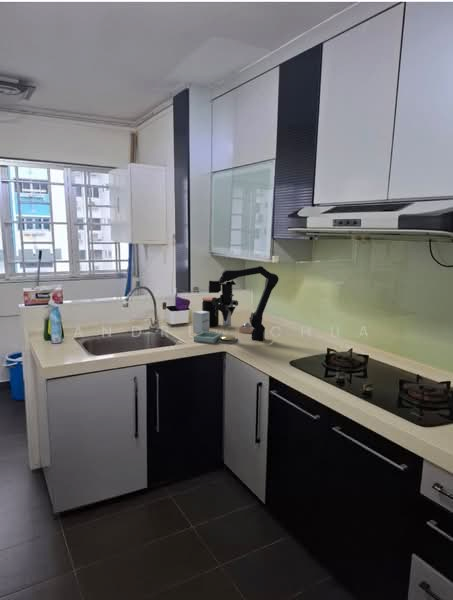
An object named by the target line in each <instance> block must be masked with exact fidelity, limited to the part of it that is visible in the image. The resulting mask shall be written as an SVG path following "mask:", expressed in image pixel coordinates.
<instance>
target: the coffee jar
mask: <svg viewBox="0 0 453 600" xmlns="http://www.w3.org/2000/svg"><path fill="white" fill-rule="evenodd" d="M214 297H215V296H212V297H211V296H206V297H202V299H201V300H202V303H201V304H202V305H201V308H202V310H201V311H207V312H209V328H215V327H218V326H219V319H220V318H219V317H220V315H219V314H220V313H219V312H220V311H219V310H215V306H216V305H218V304H216V305H213V303H212V298H214Z"/></svg>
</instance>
